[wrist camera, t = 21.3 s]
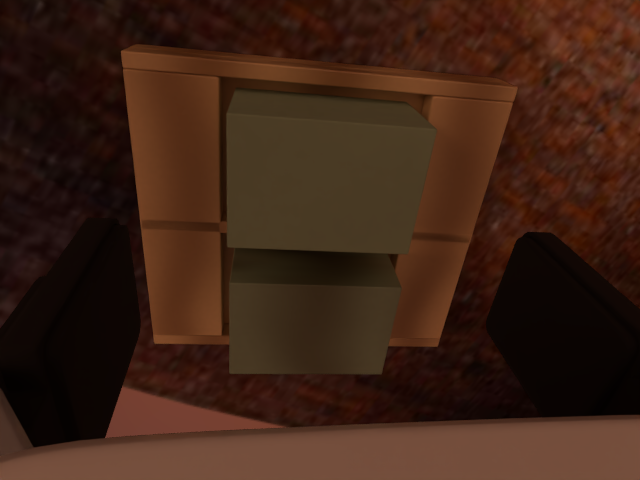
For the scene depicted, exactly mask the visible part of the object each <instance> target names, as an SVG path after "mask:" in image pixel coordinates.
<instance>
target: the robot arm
mask: <svg viewBox="0 0 640 480" xmlns="http://www.w3.org/2000/svg"><path fill="white" fill-rule="evenodd" d="M140 323H141V322H140V313H139V305H138V298H137V290H136V283H135V275H134V268H133V260H132V253H131V245H130V238H129V231H128V228H127V226H126V225H119V222H118V220H117V219H111V218H87V219H86V220H85V222H84V223H83V225H82V226H81V227H80V229H79V230H78V232H77V233H76V235H75V236H74V237H73V239H72V240H71V242H70V243H69V244H68V246H67V247H66V249H65V250H64V251H63V253H62V254H61V256H60V257H59V259H58V260H57V261H56V263H55V264H54V266H53V267H52V268H51V270H50V271H49V273H48V274H47V275H46V276H42V277H39V278H38V279H37V280H36V281H35V282H34V284H33V285H32V286H31V288H30V289H29V290H28V292H27V293H26V295H25V296H24V297H23V299H22V300H21V301H20V303H19V304H18V306H17V307H16V308H15V310H14V311H13V312H12V314H11V315H10V316H9V318H8V319H7V321H6V322H5V323H4V325H3V326H2V327H1V329H0V480H640V309H639V308H638V307H636V306H635V305H634V304H633V303H632V302H631V301H630V300H628V299H627V298H626V297H625V296H624V295H623V294H622V293H620V292H619V291H618V290H617V289H616V288H615V287H614V286H612V285H611V284H610V283H609V282H608V281H607V280H605V279H604V278H603V277H602V276H601V275H600V274H599V273H597V272H596V271H595V270H594V269H593V268H592V267H591V266H589V265H588V264H587V263H586V262H585V261H584V260H583V259H581V258H580V257H579V256H578V255H577V254H576V253H575V252H573V251H572V250H571V249H570V248H569V247H568V246H567V245H565V244H564V243H563V242H562V241H561V240H560V239H559V238H557V237H556V236H555V235H554V234H552V233H544V232H527V233H525V234H524V235H523V236H522V237H521V238H519V239H518V240H517V241H516V243H515V245H514V248H513V251H512V253H511V256H510V259H509V261H508V264H507V267H506V269H505V272H504V275H503V277H502V280H501V283H500V285H499V288H498V290H497V293H496V296H495V298H494V301H493V304H492V306H491V309H490V312H489V314H488V317H487V320H486V328H487V332H488V334H489V335H490V337H491V338H492V340H493V342H494V343H495V345H496V346H497V348H498V349H499V351H500V352H501V354H502V356H503V357H504V359H505V360H506V362H507V363H508V365H509V366H510V368H511V370H512V371H513V373H514V374H515V376H516V377H517V379H518V380H519V382H520V384H521V385H522V387H523V388H524V390H525V391H526V393H527V394H528V396H529V398H530V399H531V401H532V402H533V404H534V405H535V407H536V408H537V410H538V412H539V413H540V415H541V416H542V418H513V419H486V420H459V421H433V422H407V423H382V424H357V425H334V426H312V427H289V428H267V429H244V430H221V431H204V432H187V433H171V434H170V433H169V434H153V435H138V436H125V437H112V438H105V436H106V433H107V430H108V427H109V424H110V421H111V418H112V415H113V412H114V409H115V406H116V403H117V400H118V397H119V394H120V391H121V388H122V385H123V382H124V379H125V376H126V373H127V370H128V367H129V364H130V361H131V358H132V355H133V352H134V349H135V346H136V343H137V340H138V337H139V333H140Z"/></svg>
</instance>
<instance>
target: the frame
mask: <svg viewBox="0 0 640 480" xmlns="http://www.w3.org/2000/svg"><path fill="white" fill-rule="evenodd" d="M121 58H122V66H123V68H124V69H123V75H124V84H125V93H126V101H127V110H128V119H129V127H130V136H131V145H132V154H133V162H134V171H135V180H136V188H137V197H138V206H139V215H140V224H141V232H142V241H143V250H144V258H145V267H146V276H147V284H148V293H149V302H150V311H151V319H152V328H153V334H154V335H153V337H154V343H155V344H227V345H229V373H230V374H382V370H383V366H384V362H385V358H386V353H387V349H388V346H414V347H437V346H438V343H439V340H440V339H439V338H440V336H441V333H442V330H443V327H444V324H445V320H446V317H447V314H448V311H449V308H450V304H451V301H452V298H453V295H454V292H455V288H456V285H457V282H458V279H459V276H460V272H461V269H462V266H463V263H464V259H465V256H466V253H467V250H468V247H469V243H470V241H471V238H472V235H473V231H474V227H475V224H476V221H477V218H478V215H479V211H480V208H481V205H482V202H483V199H484V195H485V192H486V189H487V186H488V183H489V179H490V176H491V173H492V170H493V167H494V163H495V160H496V157H497V154H498V151H499V147H500V144H501V141H502V138H503V135H504V131H505V128H506V125H507V122H508V119H509V115H510V112H511V109H512V106H513V103H512V102H514V100H515V97H516V94H517V90H518V87H516V86H514V85H511V84H509V83H507V82H505V81H502V80H500V79H498V78H492V77H481V76H471V75H460V74H450V73H439V72H429V71H418V70H407V69H397V68H386V67H376V66H365V65H354V64H344V63H333V62H323V61H312V60H302V59H291V58H280V57H270V56H259V55H249V54H238V53H227V52H217V51H206V50H196V49H185V48H175V47H164V46H153V45H143V44H135V45H133V46H131V47H129V48H127V49H124V50H122V51H121ZM237 87H238V88H250V89H261V90H273V91H285V92H297V93H309V94H321V95H332V96H344V97H356V98H368V99H380V100H391V101H403V102H407V103H408V104H410V105H411V106H412V107H413V108H414V109H415V110H416V111H417V112H418V113H420V114H421V115H422V116H423V117H424V118H425V119H426V120H427V121H428V122H429V123H431V124H432V125H433V126H434V127H435V128H436V129H437V133H436V138H435V142H434V146H433V150H432V155H431V159H430V163H429V167H428V172H427V176H426V180H425V184H424V189H423V193H422V197H421V201H420V206H419V210H418V214H417V218H416V223H415V227H414V231H413V235H412V240H411V244H410V248H409V253H408V254H384V253H358V252H332V251H306V250H280V249H254V248H229V247H227V140H226V114H227V111H228V108H229V106H230V103H231V100H232V97H233V94H234V92H235V89H236V88H237Z"/></svg>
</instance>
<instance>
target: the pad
mask: <svg viewBox="0 0 640 480" xmlns="http://www.w3.org/2000/svg"><path fill="white" fill-rule="evenodd" d="M436 133H437V129H436V128H435V127H434V126H433V125H432V124H431V123H429V122H428V121H427V120H426V119H425V118H424V117H423V116H422V115H421V114H420V113H418V112H417V111H416V110H415V109H414V108H413V107H412V106H411V105H410V104H408V103H407V102H403V101H391V100H380V99H368V98H356V97H344V96H332V95H321V94H309V93H297V92H285V91H273V90H261V89H250V88H238V87H237V88H236V89H235V92H234V94H233V97H232V100H231V103H230V106H229V108H228V111H227V114H226V140H227V247H229V248H254V249H280V250H306V251H332V252H358V253H384V254H408V253H409V248H410V244H411V240H412V235H413V231H414V227H415V223H416V218H417V214H418V210H419V206H420V201H421V197H422V193H423V189H424V184H425V180H426V176H427V172H428V167H429V163H430V159H431V155H432V150H433V146H434V142H435V138H436Z"/></svg>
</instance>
